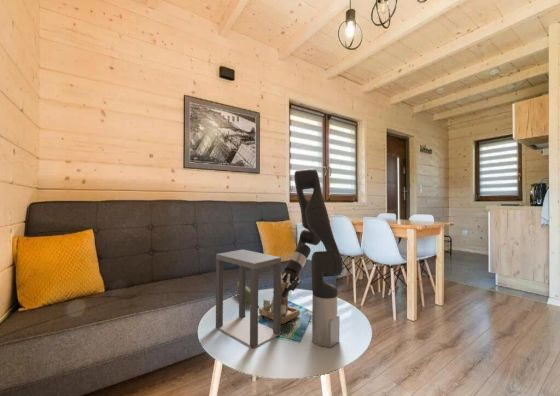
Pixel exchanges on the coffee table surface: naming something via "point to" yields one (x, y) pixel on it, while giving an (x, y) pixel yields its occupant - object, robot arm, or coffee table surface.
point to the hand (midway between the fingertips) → (278, 295)
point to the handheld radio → (247, 293)
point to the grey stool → (243, 326)
